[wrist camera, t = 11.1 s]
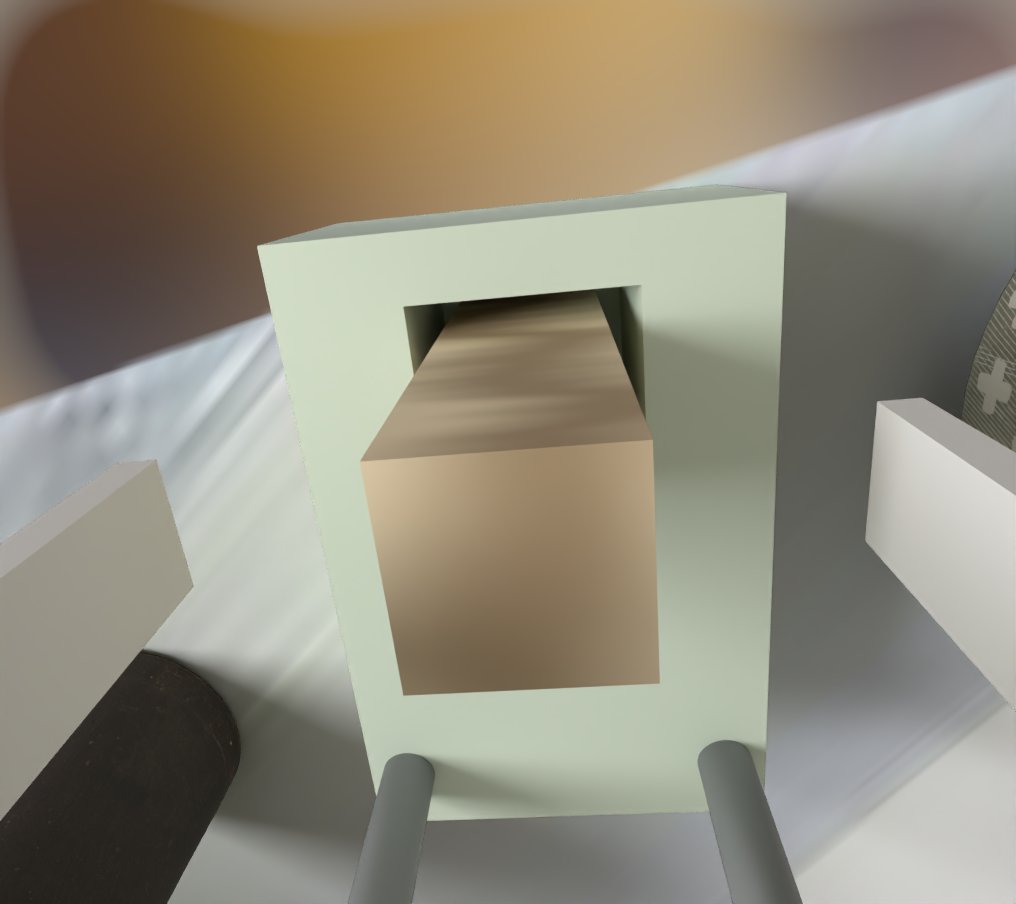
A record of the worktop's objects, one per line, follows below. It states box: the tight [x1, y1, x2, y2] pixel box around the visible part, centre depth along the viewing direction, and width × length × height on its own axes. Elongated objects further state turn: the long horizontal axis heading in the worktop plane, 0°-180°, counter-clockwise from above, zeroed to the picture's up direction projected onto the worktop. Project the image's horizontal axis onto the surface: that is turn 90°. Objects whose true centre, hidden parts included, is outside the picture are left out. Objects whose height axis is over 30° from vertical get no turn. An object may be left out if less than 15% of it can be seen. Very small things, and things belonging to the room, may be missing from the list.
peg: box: [360, 289, 660, 696], centre depth 17 cm, size 4×4×14 cm
